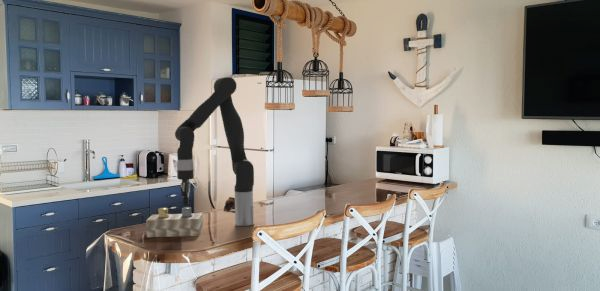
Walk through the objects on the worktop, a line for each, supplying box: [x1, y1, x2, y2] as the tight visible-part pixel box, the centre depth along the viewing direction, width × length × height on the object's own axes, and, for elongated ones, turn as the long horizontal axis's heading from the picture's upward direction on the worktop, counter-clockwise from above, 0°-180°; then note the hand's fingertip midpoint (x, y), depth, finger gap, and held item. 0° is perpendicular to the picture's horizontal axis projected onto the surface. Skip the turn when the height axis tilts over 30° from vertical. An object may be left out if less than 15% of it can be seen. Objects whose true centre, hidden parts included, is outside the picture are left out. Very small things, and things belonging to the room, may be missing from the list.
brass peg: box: [157, 207, 169, 218], centre depth 227 cm, size 4×4×7 cm
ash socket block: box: [145, 212, 204, 238], centre depth 228 cm, size 24×12×8 cm, turn 93°
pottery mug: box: [223, 196, 235, 212], centre depth 281 cm, size 12×10×8 cm
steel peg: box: [181, 206, 192, 218], centre depth 228 cm, size 4×4×7 cm
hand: (186, 204), depth 228 cm, fingers closed
